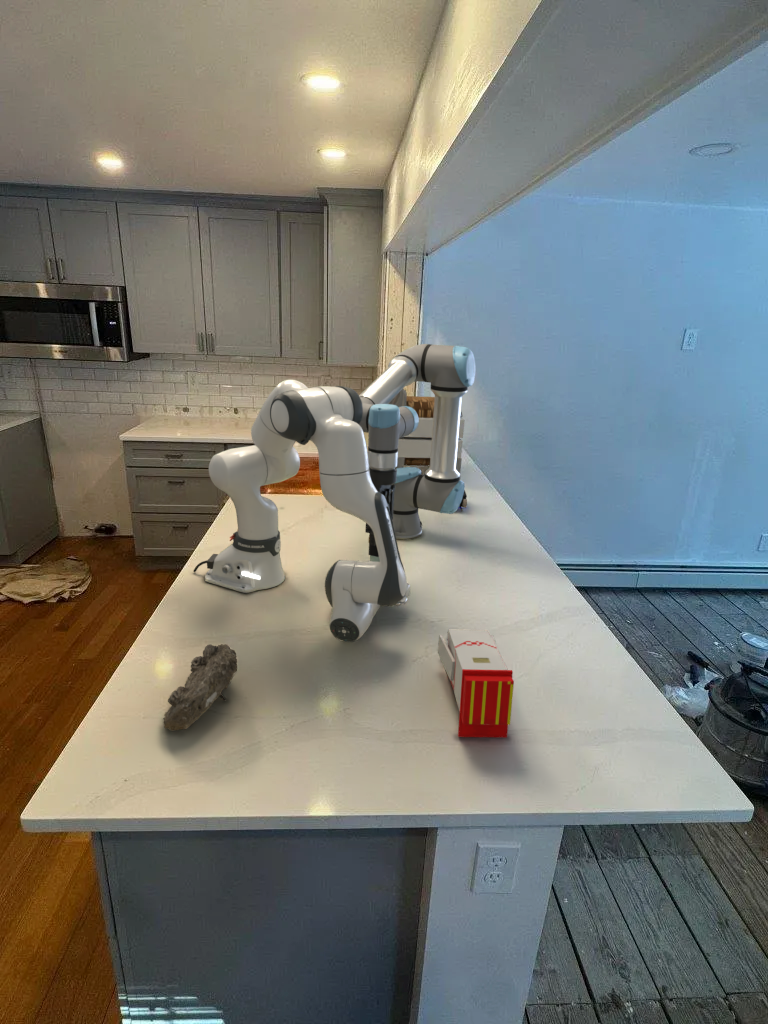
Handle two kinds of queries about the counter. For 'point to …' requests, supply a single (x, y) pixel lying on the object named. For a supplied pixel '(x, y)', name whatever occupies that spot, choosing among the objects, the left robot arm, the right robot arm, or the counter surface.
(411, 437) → the white slatted crate
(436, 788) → the counter surface
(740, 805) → the counter surface
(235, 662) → the fossil
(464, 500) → the figurine character
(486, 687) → the toy
